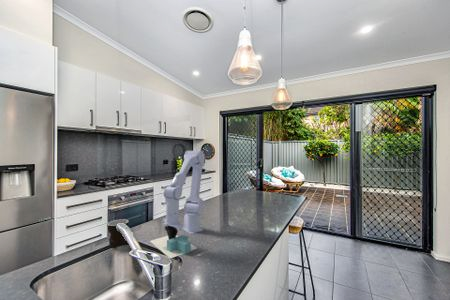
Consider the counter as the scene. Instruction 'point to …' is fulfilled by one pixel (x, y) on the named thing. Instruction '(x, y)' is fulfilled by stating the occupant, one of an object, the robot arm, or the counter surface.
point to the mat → (162, 245)
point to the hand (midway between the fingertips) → (172, 241)
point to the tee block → (179, 244)
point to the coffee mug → (116, 233)
